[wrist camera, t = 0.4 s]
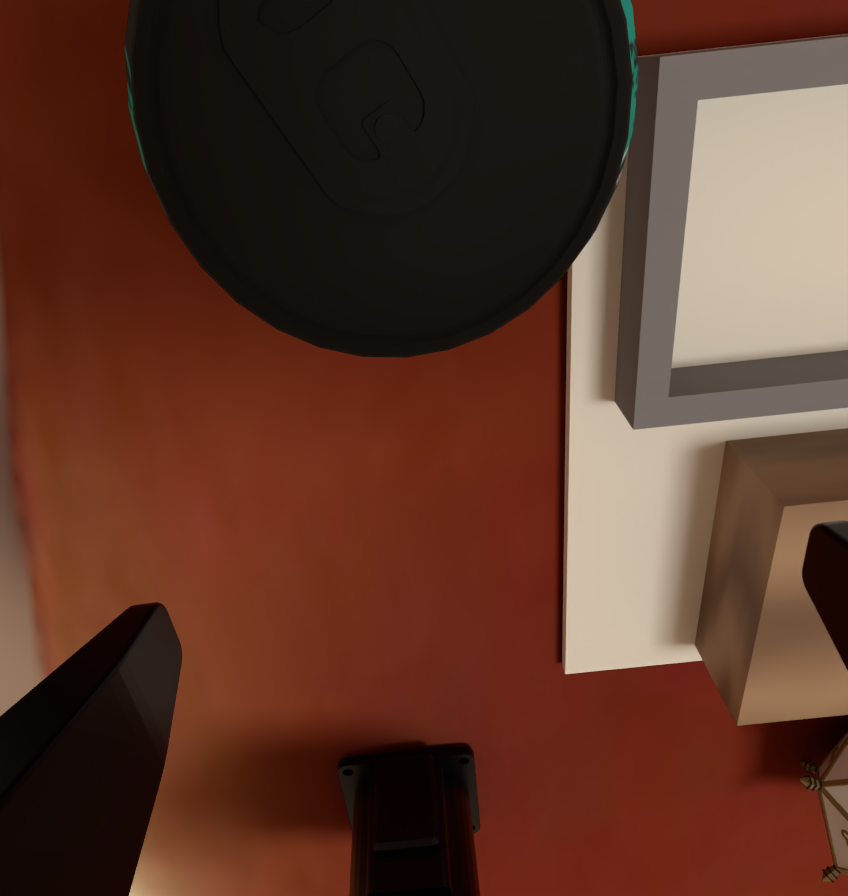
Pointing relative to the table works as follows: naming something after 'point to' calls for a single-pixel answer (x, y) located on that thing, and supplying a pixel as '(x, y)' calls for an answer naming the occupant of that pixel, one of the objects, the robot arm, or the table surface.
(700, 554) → the mat
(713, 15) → the table surface
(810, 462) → the card box
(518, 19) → the beverage can
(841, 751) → the game die
